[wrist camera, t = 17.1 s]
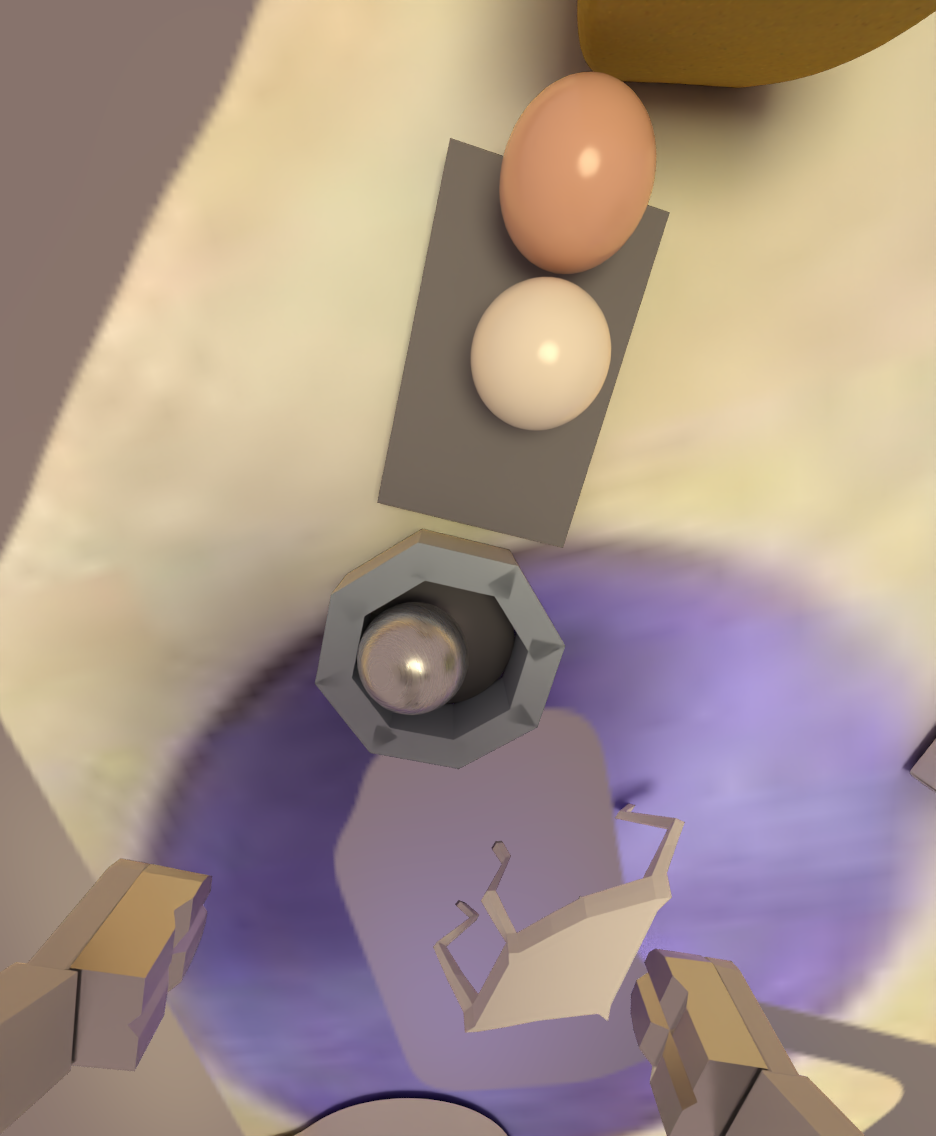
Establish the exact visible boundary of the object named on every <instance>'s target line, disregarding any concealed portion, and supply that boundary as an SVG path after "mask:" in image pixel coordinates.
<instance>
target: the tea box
mask: <svg viewBox="0 0 936 1136" xmlns="http://www.w3.org/2000/svg"><path fill="white" fill-rule="evenodd" d="M910 774H911V775H912V776H913V777H914V778H915V779H917V780H918V781H920V782H921V783H922V784H924V785H925V786H926V787H928V788H929V789H931V790H932V791H934V792H935V793H936V739H935V740H934V741H933V743H932V744H931V745H930V746H929V748H928V749H927V750H926V752H925V753H924V754H923V755H922V757H921V758H920V759H919V760H918V762H917V763H916V764H915V765H914V767H913V768H912V769H911V770H910Z"/></svg>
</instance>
